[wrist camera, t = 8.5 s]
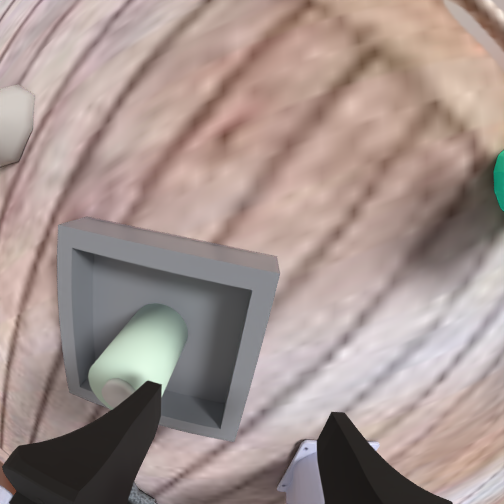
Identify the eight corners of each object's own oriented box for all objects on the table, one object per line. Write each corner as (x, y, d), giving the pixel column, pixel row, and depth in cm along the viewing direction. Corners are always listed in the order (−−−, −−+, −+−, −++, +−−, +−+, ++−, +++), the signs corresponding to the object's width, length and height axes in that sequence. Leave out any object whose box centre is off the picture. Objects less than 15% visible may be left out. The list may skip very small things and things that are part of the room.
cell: (185, 359, 21) (154, 434, 13) (133, 345, 21) (88, 411, 13) (190, 311, 20) (155, 381, 12) (135, 297, 20) (79, 356, 12)
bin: (237, 411, 22) (234, 441, 19) (87, 369, 22) (69, 392, 19) (276, 256, 19) (279, 273, 16) (86, 216, 19) (58, 224, 16)
